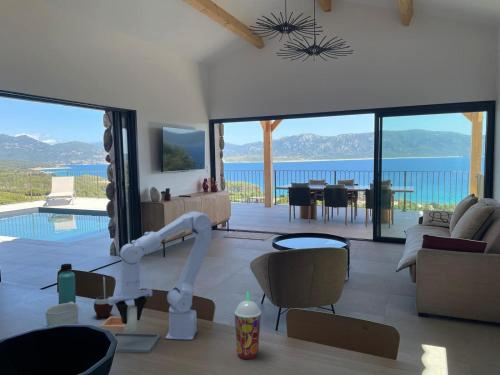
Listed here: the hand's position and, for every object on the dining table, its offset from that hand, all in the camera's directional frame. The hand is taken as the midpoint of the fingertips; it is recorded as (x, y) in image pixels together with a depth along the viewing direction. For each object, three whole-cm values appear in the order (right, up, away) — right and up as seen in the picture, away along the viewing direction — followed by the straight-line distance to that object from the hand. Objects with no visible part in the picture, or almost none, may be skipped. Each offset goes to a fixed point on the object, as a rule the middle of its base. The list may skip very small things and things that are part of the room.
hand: (131, 321), depth 126 cm
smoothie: (+39, -9, -6) cm, 40 cm away
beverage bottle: (-35, -7, +29) cm, 46 cm away
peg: (0, -3, 0) cm, 3 cm away
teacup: (-29, -8, +15) cm, 34 cm away
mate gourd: (-19, -7, +24) cm, 32 cm away
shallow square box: (-9, -8, +13) cm, 17 cm away
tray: (0, -8, 0) cm, 8 cm away
